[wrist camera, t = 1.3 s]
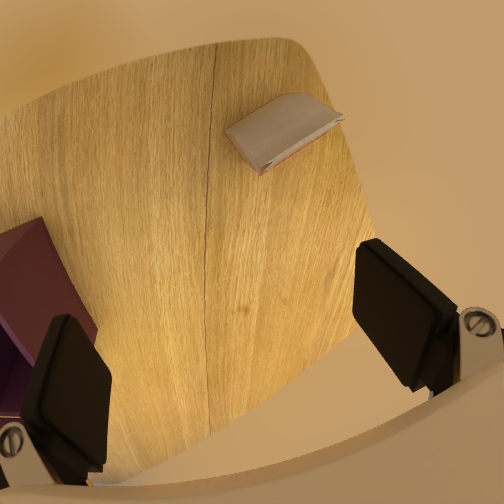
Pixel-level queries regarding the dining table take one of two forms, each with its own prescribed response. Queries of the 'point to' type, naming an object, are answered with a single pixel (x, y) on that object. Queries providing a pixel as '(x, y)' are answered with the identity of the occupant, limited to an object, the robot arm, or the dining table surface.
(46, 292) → the purple box
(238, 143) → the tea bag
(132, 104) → the dining table surface
